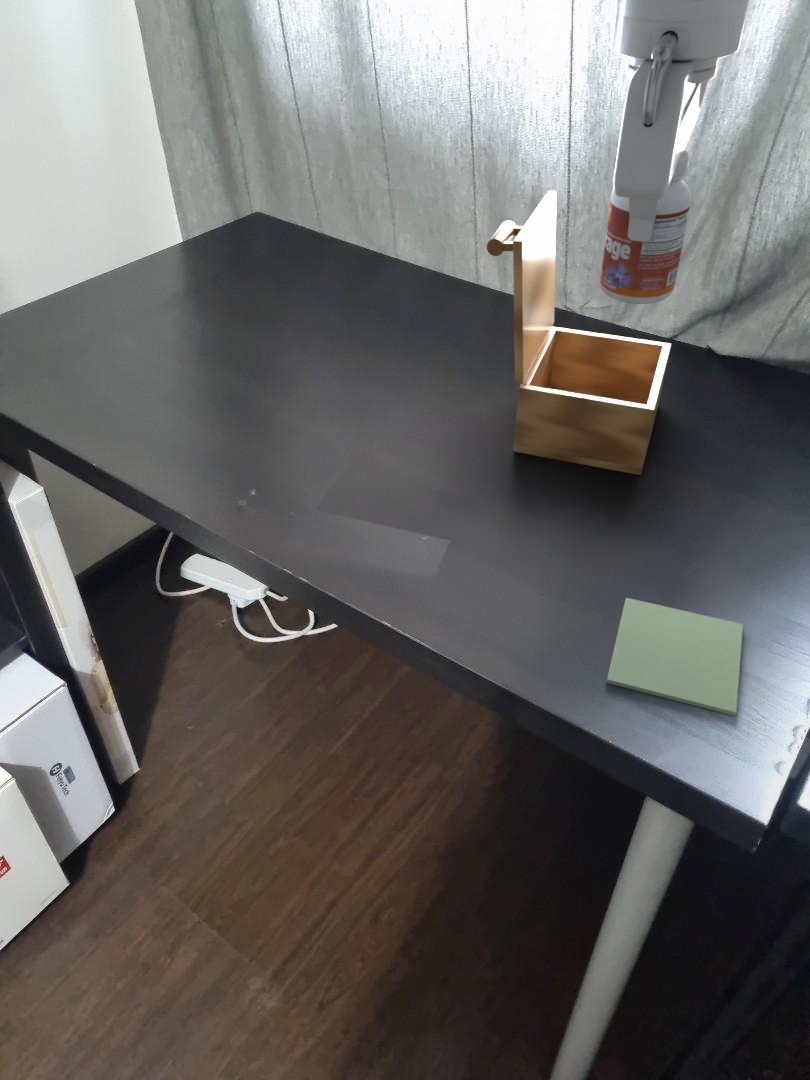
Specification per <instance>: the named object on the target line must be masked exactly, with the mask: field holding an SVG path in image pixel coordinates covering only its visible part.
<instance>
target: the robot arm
mask: <svg viewBox="0 0 810 1080" xmlns="http://www.w3.org/2000/svg"><path fill="white" fill-rule="evenodd" d="M749 2H750V0H615V7H614V17H613V26H612V33H611V34H612V35H611V43H610V49H611V50H612V51H613V52H615V53H616V54H619V55H621V56H625V57H627V58H626V67H625V76H626V77H627V78H629V79H630V80H629V83H628V88H627V92H626V97H625V102H624V106H623V114H622V120H621V125H620V130H619V131H620V132H619V139H618V143H617V144H618V146H617V152H616V159H615V166H614V171H613V188H614V192H615V194H616V195H617V196H619V197H625V198H629V211H630V220H629V227H628V238H629V239H630V240H631V241H640V242H647V241H649V240H650V239H651V237H652V234H653V231H654V225H655V219H656V211H657V206H658V202H659V199H662V198H663V197H664V196H665V194H666V192H667V189H668V187H669V184H670V182H671V180H672V177H673V175H674V172H675V170H676V168H677V165H678V163H679V160H680V157H681V155H682V153H683V150H685V148H686V146H687V144H688V141H689V138H690V136H691V134H692V131H693V129H694V127H695V125H696V122H697V120H698V116H699V113H700V110H701V106H702V103H703V100H704V97H705V93H706V91H707V90H706V89H707V87H708V86H707V85H708V82H709V81H710V80H713V79H714V78H715V77H716V74H717V70H718V64H719V59H721V58H725V57H729V56H731V55H734V54H736V53H738V51H739V50H740V47H741V43H742V37H743V32H744V27H745V22H746V18H747V13H748V7H749Z"/></svg>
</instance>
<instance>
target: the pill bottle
mask: <svg viewBox="0 0 810 1080" xmlns="http://www.w3.org/2000/svg"><path fill="white" fill-rule="evenodd" d="M689 157H690V154H689V152H688V151H687V150H686V149H684V150H683V153H682V155H681V157H680V160H679V163H678V165H677V168H676V170H675V172H674V175H673V177H672V180H671V182H670V184H669V187H668V189H667V192H666V194H665V196H664V197H663V198H662V199H659V202H658V206H657V211H656V219H655V225H654V231H653V234H652V237H651V239H650V240H649V241H647V242H640V241H631V240H630V239H629V238H628V227H629V220H630V211H629V198H625V197H619V196H617V195H616V194H615V192H614V187H613V188H612V191H611V195H610V200H609V208H608V216H607V217H608V218H607V224H606V232H605V239H604V246H603V255H602V261H601V262H602V263H601V269H600V270H601V271H600V277H599V286H600V287H599V288H600V289H601V291H602V292H603V293H604V294H605V295H606V296H608V297H609V298H611V299H614V300H616V301H618V302H622V303H626V304H633V305H646V304H647V305H649V304H653V303H659V302H661V301H664V300H666V299H667V298H669V297H670V296H671V295H672V293H673V292H674V289H675V285H676V282H677V281H676V280H677V277H678V272H679V267H680V266H679V265H680V261H681V255H682V250H683V244H684V240H685V235H686V229H687V224H688V218H689V213H690V208H691V203H692V191H691V189H690V187H689V185H688V184H687V183H686V181H684V180H682V178H684V177H685V176H686V172H687V171H688V164H689V159H690V158H689Z"/></svg>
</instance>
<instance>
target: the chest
mask: <svg viewBox="0 0 810 1080" xmlns="http://www.w3.org/2000/svg"><path fill="white" fill-rule="evenodd" d="M671 348H672V343H669V342H662V341H655V340H648V339H643V338H634V337H628V336H621V335H614V334H607V333H599V332H592V331H585V330H580V329H572V328H566V327H557V326H552V327H551V329H550V331H549V333H548V335H547V337H546V339H545V341H544V343H543V345H542V347H541V349H540V351H539V353H538V355H537V357H536V359H535V361H534V363H533V365H532V367H531V369H530V371H529V373H528V375H527V377H526V379H525V381H524V383H523V384H522V383H520V385H519V386H518V393H517V394H518V395H517V405H516V406H517V408H516V417H515V419H516V420H515V430H514V441H513V452H515V453H520V454H526V455H532V456H535V457H542V458H547V459H552V460H557V461H563V462H567V463H573V464H579V465H583V466H589V467H594V468H601V469H606V470H611V471H615V472H621V473H625V474H632V475H638V476H642V473H643V469H644V465H645V460H646V456H647V453H648V448H649V445H650V441H651V436H652V432H653V429H654V425H655V421H656V417H657V412H658V408H659V406H660V405H659V404H660V400H661V395H662V391H663V387H664V382H665V376H666V371H667V368H668V363H669V357H670V354H671Z"/></svg>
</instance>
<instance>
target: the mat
mask: <svg viewBox="0 0 810 1080" xmlns="http://www.w3.org/2000/svg"><path fill="white" fill-rule="evenodd" d="M743 633H744V623H739V622H735V621H730V620H726V619H722V618H718V617H713V616H712V617H711V616H709V615H705V614H699V613H696V612H691V611H686V610H683V609H682V610H681V609H678V608H674V607H669V606H664V605H660V604H656V603H651V602H647V601H643V600H638V599H635V598H630V597H625V600H624V604H623V608H622V613H621V617H620V621H619V625H618V629H617V634H616V639H615V642H614V647H613V651H612V656H611V659H610V660H611V661H610V665H609V669H608V673H607V679H606V684H609V685H613V686H617V687H620V688H621V687H622V688H625V689H629V690H633V691H637V692H640V693H645V694H649V695H651V696H655V697H656V696H657V697H660V698H662V699H663V698H664V699H668V700H671V701H676V702H680V703H684V704H687V705H691V706H695V707H699V708H702V709H707V710H710V711H714V712H719V713H722V714H726V715H731V716H733V717H735V716H737V713H738V712H737V711H738V701H739V700H738V699H739V685H740V671H741V659H742V648H743V647H742V646H743Z"/></svg>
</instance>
